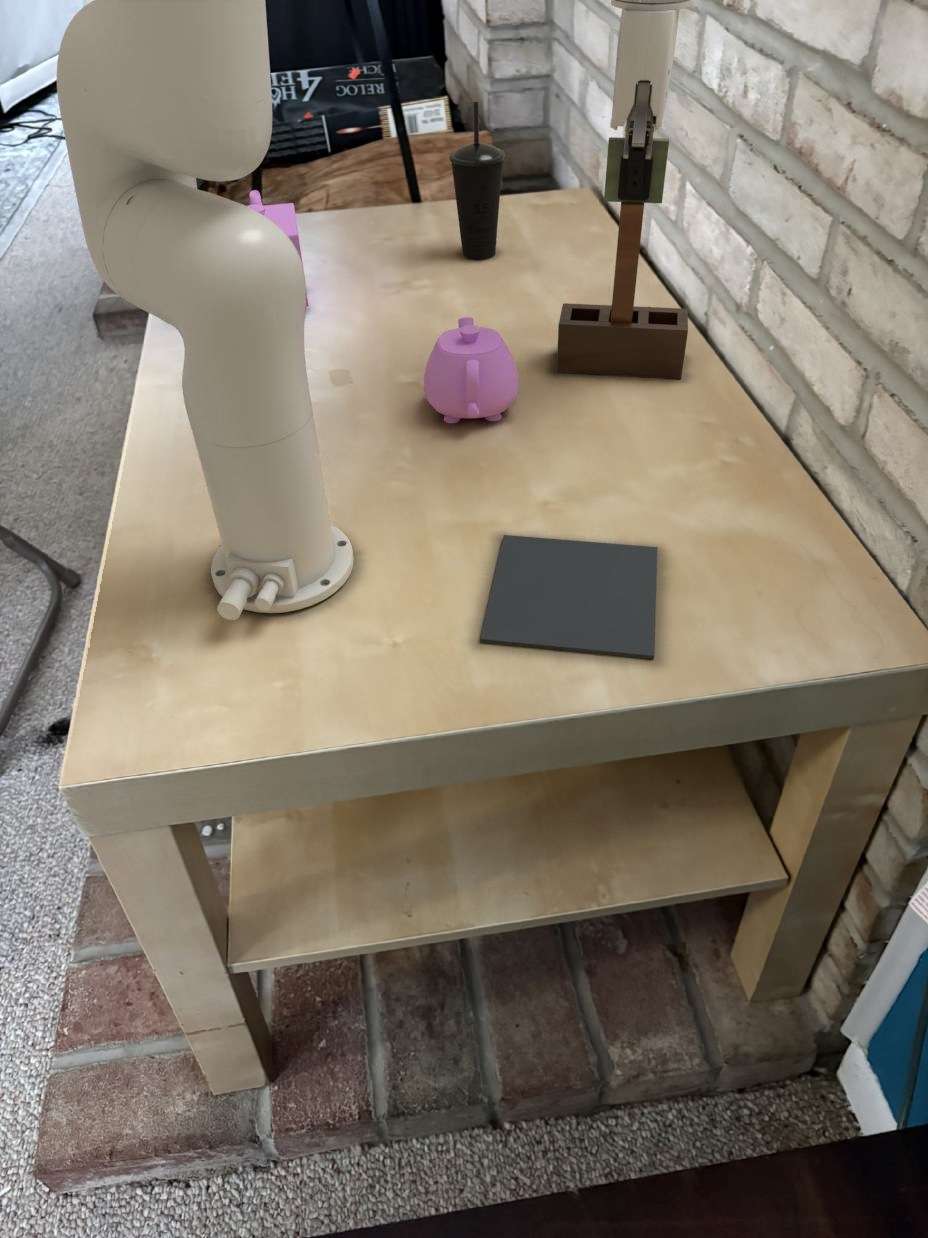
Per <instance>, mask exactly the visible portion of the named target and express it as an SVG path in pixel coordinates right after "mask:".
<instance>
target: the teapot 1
mask: <svg viewBox="0 0 928 1238" xmlns="http://www.w3.org/2000/svg"><path fill="white" fill-rule="evenodd" d="M248 198H249V204H248V205H246V206H247V207H249V208H251V209H254V210H256V211H258V212H259V213H261V214H263V215H264V216H266V217H267V218H269V219H270V220H271V221H273V222H274V223H275V224H276V225H277V226H278V227H280V228H281V229H282V230H283V231H284V232H285V233H286V235H287V236H288V237H289V239H290V240H291V241H292V243H293V244H294V246H295V248H296V249H297V251H298V254H299V256H300V259H301V261H302V265H303V266H304V263H303V262H304V261H303V256H302V250H301V243H300V236H299V229H298V223H297V217H296V209H295V204H294V202H288V203H279V204H278V203H277V204H267V205H266V204H265V205H263V202H262V198H261V193H260V191H259V190H257V189H254V190H251V191H250V192H249V197H248ZM305 307H309V299H308V292H307V290H306V303H305Z"/></svg>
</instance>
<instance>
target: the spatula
mask: <svg viewBox="0 0 928 1238" xmlns="http://www.w3.org/2000/svg"><path fill="white" fill-rule="evenodd" d="M624 144H625V137H617V136H616V137H613V136H611V137H608V144H607V156H606V169H605V182H604V183H605V184H604V196H603V202H607V203H608V202H609V203H610V202H611V203H620V210H619V220H618V221H619V222H618V232H617V244H616V255H615V265H614V266H615V267H614V277H613V287H612V300H611V305H612V310H611V321H610V322H619V323H632V316H633V307H634V306H635V295H636V287H637V286H636V285H637V278H638V277H637V276H638V268H639V259H640V250H641V249H640V248H641V240H642V231H643V221H644V211H645V204H663V198H664V190H665V189H664V188H665V182H666V181H665V180H666V171H667V164H668V156H669V147H670V138H658V137H657V138H656V137H655V138H654V137H653V142H652V151H651V158H653V165H652V174H651V183H650V192H649V198H648V200H646V201H639V200H620V199H619V198H618V187H619V175H620V164H621V157H623V156H624ZM646 149H647V147H646ZM629 150H630V147H629ZM645 157H646V155H645Z"/></svg>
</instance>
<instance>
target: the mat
mask: <svg viewBox="0 0 928 1238" xmlns="http://www.w3.org/2000/svg"><path fill="white" fill-rule="evenodd" d="M657 575H658V546H649V545H648V546H647V545H646V546H645V545H634V544H622V543H611V542H609V543H608V542H599V541H598V542H597V541H585V540H584V541H583V540H574V539H573V540H571V539H561V538H560V539H559V538H546V537H534V536H523V535H510V534H503V536H502V541H501V544H500V549H499V553H498V559H497V562H496V567H495V572H494V576H493V581H492V585H491V589H490V593H489V598H488V602H487V607H486V612H485V616H484V621H483V624H482V629H481V632H480V638H479V642H480V643H484V644H485V643H486V644H496V645H505V646H514V647H515V646H516V647H525V648H536V649H547V650H557V651H566V652H578V653H579V652H580V653H586V654H587V653H588V654H597V655H607V656H616V657H617V656H618V657H628V658H638V659H647V660H648V659H649V660H654V659H655V650H656V649H655V647H656V645H655V644H656V615H657V614H656V613H657V612H656V611H657Z"/></svg>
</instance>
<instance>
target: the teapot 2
mask: <svg viewBox="0 0 928 1238" xmlns="http://www.w3.org/2000/svg"><path fill="white" fill-rule="evenodd" d="M457 323H458V324H457V325H458V327H456V328H452V329H449V330H446V331H444V332H442V333H441V334H440V335H439V337H438V338H437V340H436V342H435V344H434V345H433V348H432V350H431V352H430V354H429V357H428V359H427V363H426V365H425V371H424V378H423V392H424V395H425V397H426V400H427V402H428V403H429V405H430V406H432V407H433V409H434V410H435V411H436V412H438V413H439V414H441V415H443V416H444V417H443V421H444V423H448V424H456V423H458V422H460V421H461V420H462V419H479V418H484V419H485V420H487V421H489V422H497V421H500V420H501V419H502V417H503V416H502V414H501V413H504V412H505V411H506V410H508V409H509V407H511V406H512V405H513V402H514V401H515V400H516V399H517V396H518V393H519V389H520V388H519V387H520V386H519V374H518V370H517V365H516V363H515V360H514V357H513V354H512V353H511V351H510V349H509V347H508V346H507V343H506V341H505V340H504V338H503V337H502V336H501V334H500V332H498V331H497V330H496V329H493V328H489V327H484V326H483V327H482V326H478V325H475V322H474V318H473V317H469V316H466V317H461V318H459V319H458V320H457Z"/></svg>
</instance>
